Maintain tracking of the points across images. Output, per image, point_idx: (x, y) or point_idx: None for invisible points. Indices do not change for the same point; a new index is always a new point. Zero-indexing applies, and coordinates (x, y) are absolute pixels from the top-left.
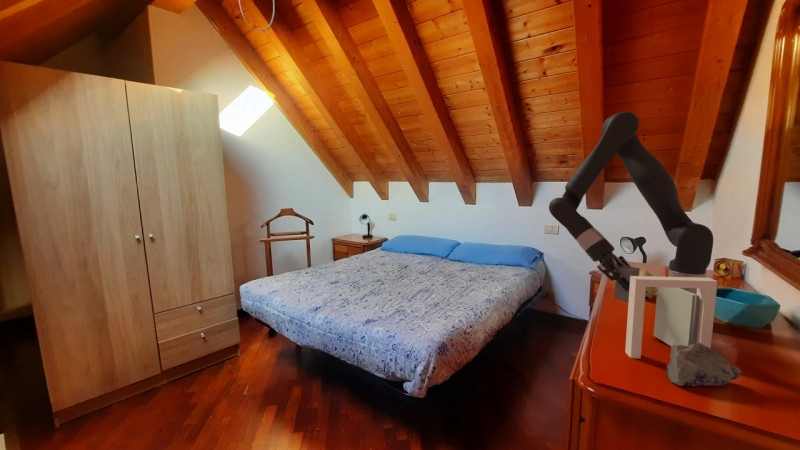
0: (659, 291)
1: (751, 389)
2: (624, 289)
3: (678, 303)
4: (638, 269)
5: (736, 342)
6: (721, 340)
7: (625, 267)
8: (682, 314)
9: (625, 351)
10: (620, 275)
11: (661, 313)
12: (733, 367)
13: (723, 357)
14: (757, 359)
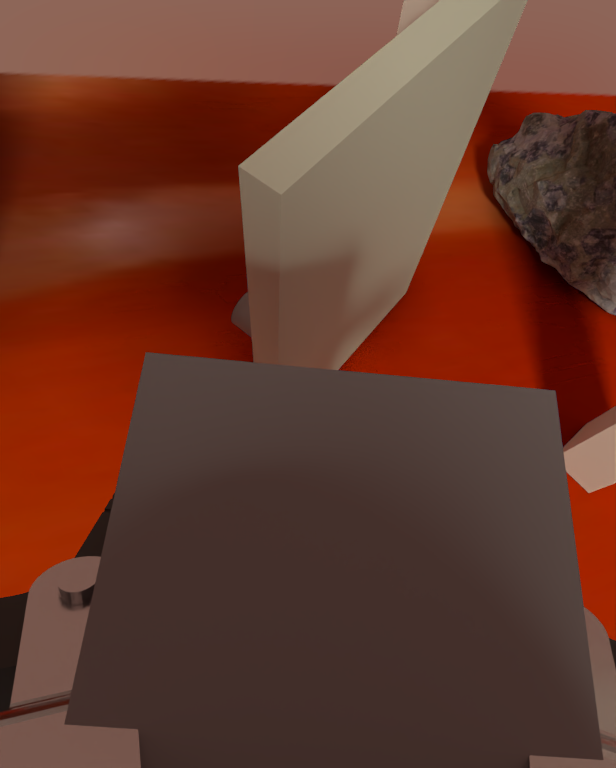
0: (302, 252)
1: (477, 149)
2: None
3: (429, 146)
4: (208, 367)
5: (67, 190)
6: (84, 229)
7: (301, 650)
8: (433, 178)
9: (593, 490)
10: (601, 637)
11: (315, 334)
12: (563, 117)
13: (595, 110)
14: (208, 141)
